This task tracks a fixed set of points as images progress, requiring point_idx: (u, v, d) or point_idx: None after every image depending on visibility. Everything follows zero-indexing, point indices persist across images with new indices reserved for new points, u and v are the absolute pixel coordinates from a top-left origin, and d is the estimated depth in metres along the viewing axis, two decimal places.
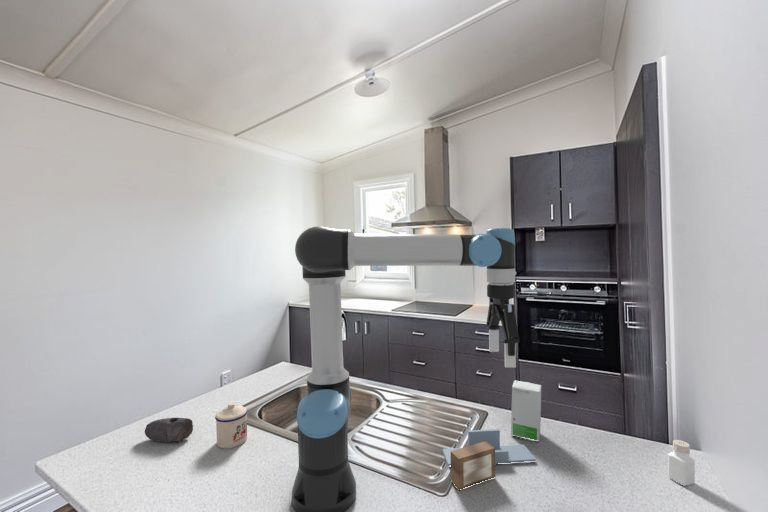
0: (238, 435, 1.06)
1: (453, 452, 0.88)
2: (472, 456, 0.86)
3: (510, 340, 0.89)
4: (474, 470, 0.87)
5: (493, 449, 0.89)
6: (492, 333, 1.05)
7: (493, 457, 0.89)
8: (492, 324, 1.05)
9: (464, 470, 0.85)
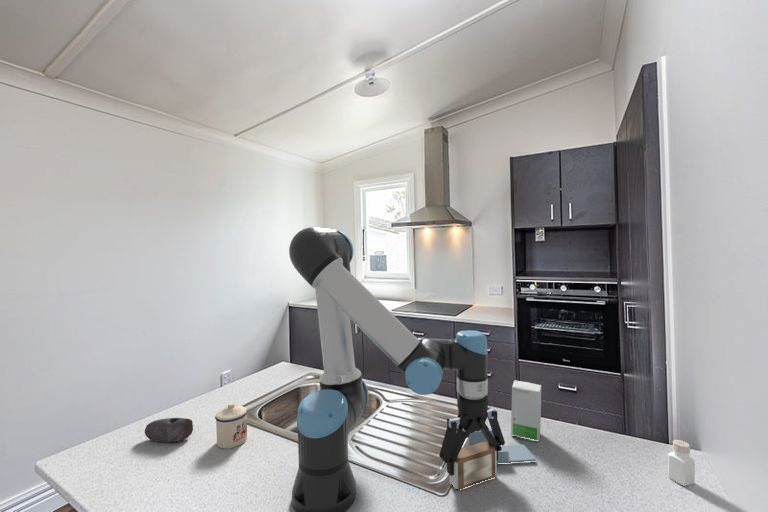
0: (238, 435, 1.06)
1: None
2: (472, 456, 0.86)
3: (440, 456, 0.86)
4: (474, 470, 0.87)
5: (493, 449, 0.89)
6: None
7: (493, 457, 0.89)
8: (487, 439, 0.91)
9: (464, 470, 0.85)
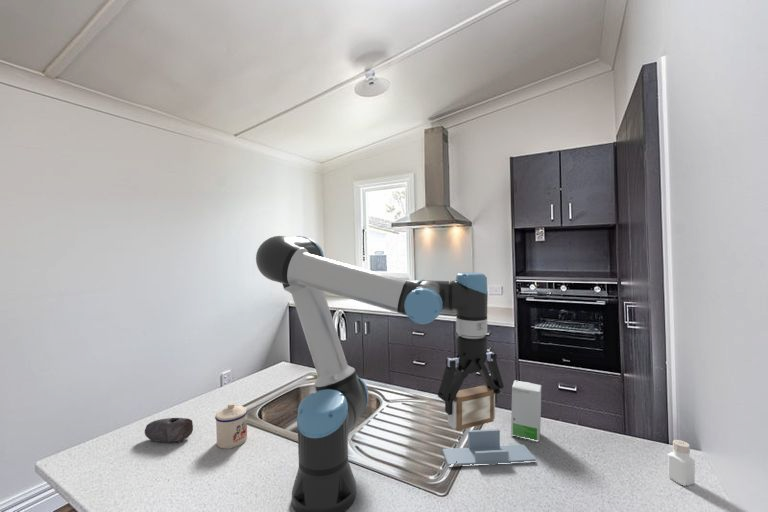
0: (238, 435, 1.06)
1: None
2: (471, 396, 0.86)
3: (438, 395, 0.86)
4: (473, 411, 0.86)
5: (492, 391, 0.89)
6: None
7: (492, 399, 0.89)
8: (486, 383, 0.91)
9: (463, 409, 0.85)
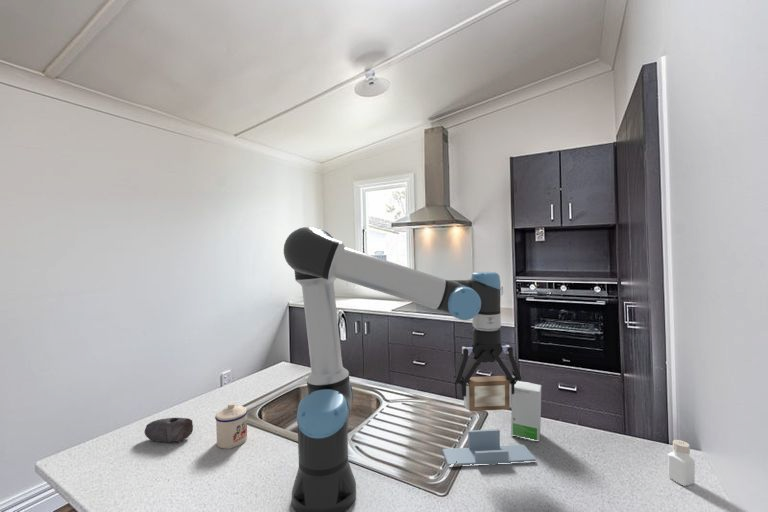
0: (238, 435, 1.06)
1: None
2: (484, 383, 0.96)
3: (454, 378, 0.98)
4: (486, 396, 0.96)
5: (507, 381, 0.96)
6: None
7: (507, 388, 0.96)
8: (504, 374, 0.99)
9: (475, 393, 0.96)
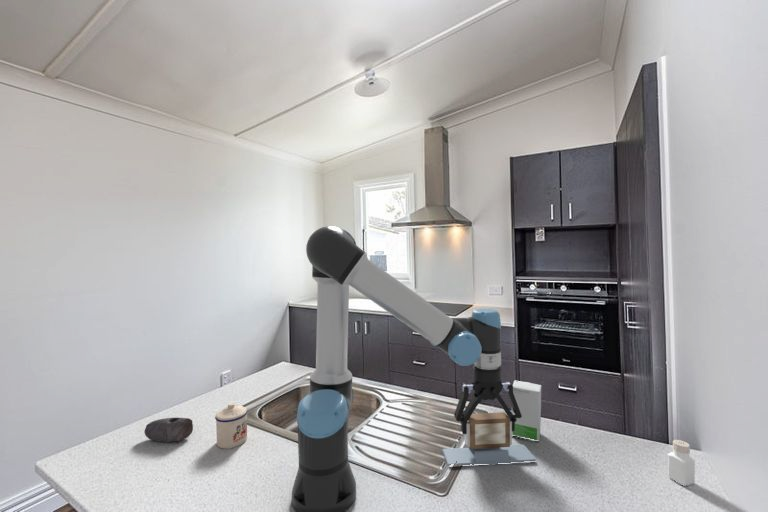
0: (238, 435, 1.06)
1: None
2: (484, 421, 0.96)
3: (454, 415, 0.98)
4: (487, 434, 0.96)
5: (507, 419, 0.96)
6: None
7: (508, 426, 0.96)
8: (504, 410, 0.99)
9: (476, 431, 0.96)
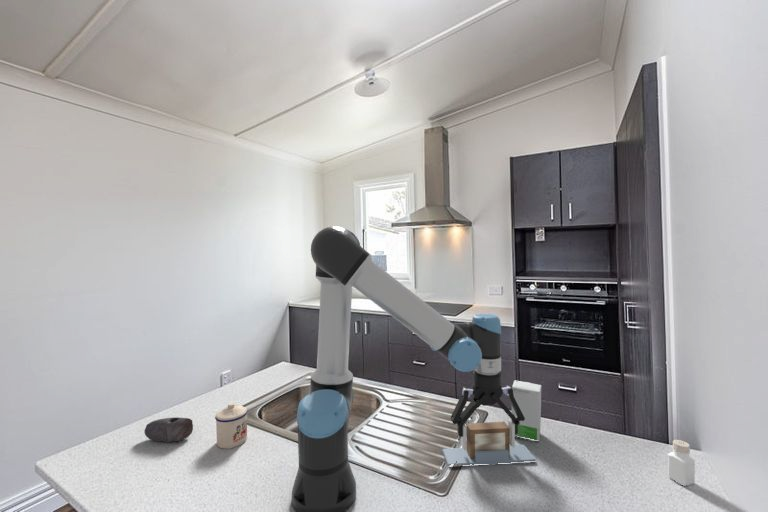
0: (238, 435, 1.06)
1: (468, 424, 0.99)
2: (484, 430, 0.96)
3: (451, 417, 0.98)
4: (486, 443, 0.96)
5: (507, 429, 0.97)
6: (509, 424, 0.99)
7: (508, 436, 0.97)
8: None
9: (476, 441, 0.96)
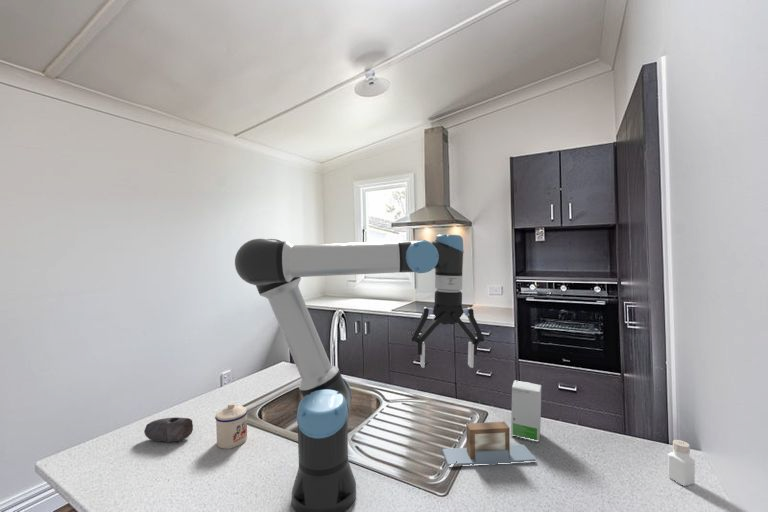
0: (238, 435, 1.06)
1: (468, 424, 0.99)
2: (484, 430, 0.96)
3: None
4: (486, 443, 0.96)
5: (507, 429, 0.97)
6: (469, 346, 0.99)
7: (508, 436, 0.97)
8: (467, 335, 0.99)
9: (476, 441, 0.96)
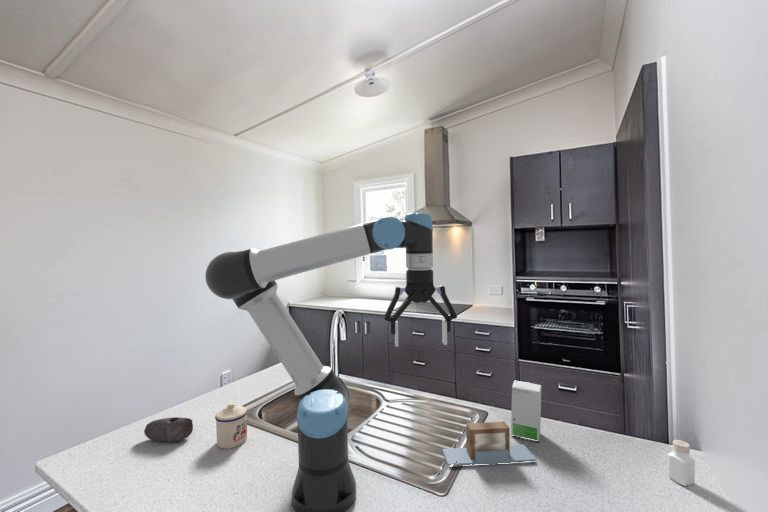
0: (238, 435, 1.06)
1: (468, 424, 0.99)
2: (484, 430, 0.96)
3: None
4: (486, 443, 0.96)
5: (507, 429, 0.97)
6: (442, 324, 1.00)
7: (508, 436, 0.97)
8: (440, 313, 1.00)
9: (476, 441, 0.96)
